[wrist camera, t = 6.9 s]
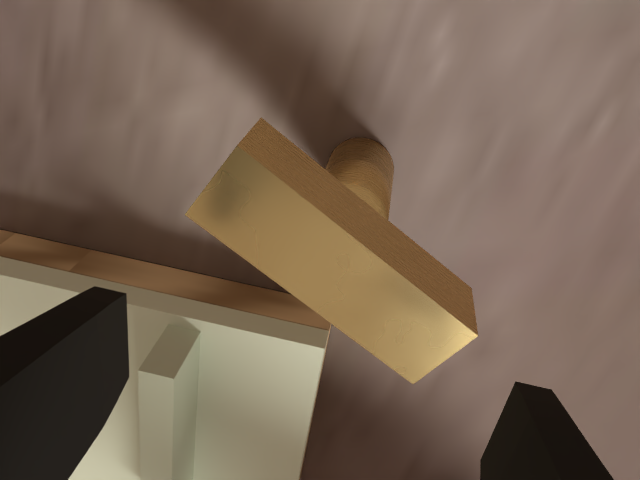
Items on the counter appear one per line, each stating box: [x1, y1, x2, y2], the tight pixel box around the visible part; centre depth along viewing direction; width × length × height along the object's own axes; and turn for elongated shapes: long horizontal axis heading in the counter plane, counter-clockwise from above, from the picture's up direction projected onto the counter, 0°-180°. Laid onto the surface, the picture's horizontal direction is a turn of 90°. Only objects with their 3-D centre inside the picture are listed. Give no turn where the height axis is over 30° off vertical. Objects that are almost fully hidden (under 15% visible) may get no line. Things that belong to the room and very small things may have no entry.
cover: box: [0, 256, 329, 480], centre depth 22 cm, size 14×11×3 cm
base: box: [0, 230, 331, 480], centre depth 24 cm, size 14×11×2 cm
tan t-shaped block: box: [185, 118, 478, 384], centre depth 16 cm, size 2×7×7 cm, turn 52°
